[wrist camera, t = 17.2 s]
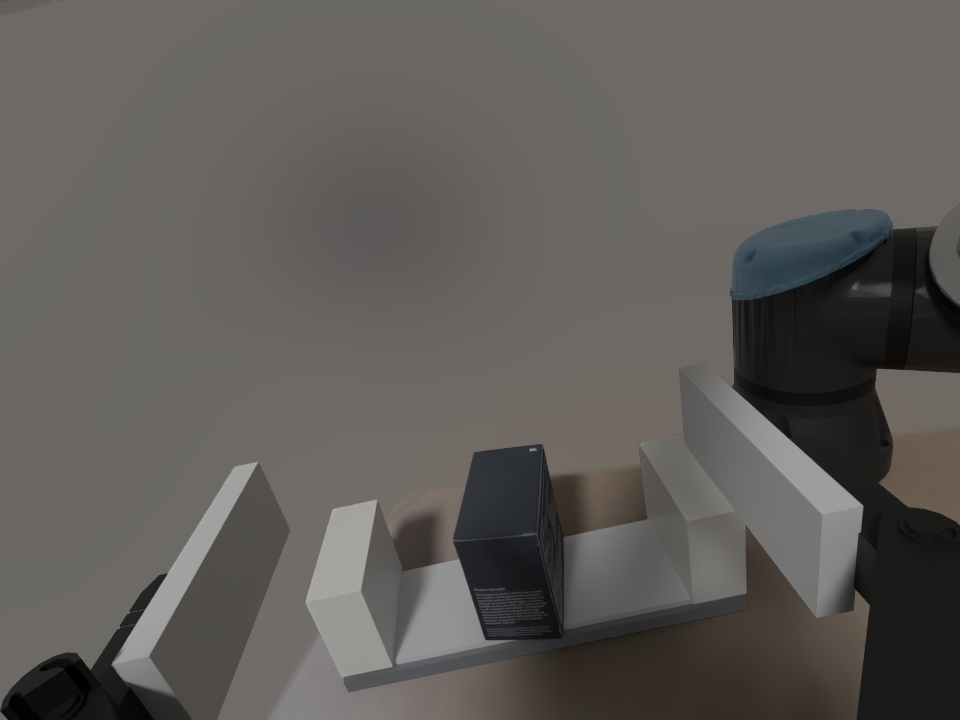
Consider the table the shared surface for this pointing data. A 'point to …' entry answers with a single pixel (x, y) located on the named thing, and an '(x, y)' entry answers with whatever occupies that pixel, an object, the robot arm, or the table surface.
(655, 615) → the panel
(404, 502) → the table surface
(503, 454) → the small box
